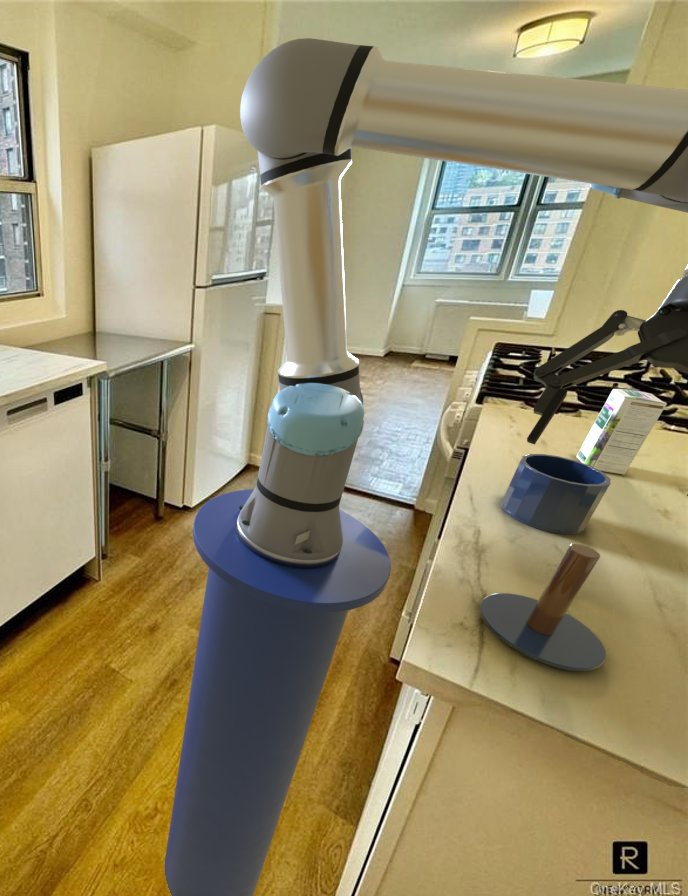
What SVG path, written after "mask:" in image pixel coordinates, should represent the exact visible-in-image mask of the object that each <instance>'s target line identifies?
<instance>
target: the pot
mask: <svg viewBox="0 0 688 896" xmlns="http://www.w3.org/2000/svg"><path fill="white" fill-rule="evenodd" d="M610 485H611V477H609V476H608V475H607V474H606V472H604V471H600V470H598V469H596V468H594V467H592V466H590V465H587V464H584V463H581V461H578V460H575V459H571V458H569V457H568V458H567V457H563V456H559V455H553V454H546V453H529V454H525V455H522V457H521V459H520V461H519V463H518V465H517V467H516V469H515V472H514V474H513V475H512V478H511V480H510V482H509V484H508V487H507V489H506V491H505V493H504V495H503V498H502V500H501V502H500V507H501V509H502V510H503V511H504V513H506V514H507V515H508V516H510V517H511V518H513V519H515V521H518V522H520V523H521V524H524V525H527V526H529V527H532V528H535V529H536V530H537V529H538V530H541V531H545V532H549V533H552V534H559V535H576V534H580V533H583V532H584V530H585V529H586V527H587V526H588V524H589V522H590V521H591V518H592V517H593V515H594V513H595V512H596V510H597V508H598V506H599V504H600V502H601V501H602V499H603V498H604V496H605V494H606V492H607V490H608V489H609V487H610Z"/></svg>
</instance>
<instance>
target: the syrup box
mask: <svg viewBox="0 0 688 896" xmlns="http://www.w3.org/2000/svg"><path fill="white" fill-rule="evenodd" d="M667 405H668V403H667V402H665V401H663V400H661V399H660V398H658V396H656V395H654V394H653V393H649V392H645V391H641V390H635V389H625V388H624V389H623V388H613V389H612V390H611V391H610V393H609V395H608V397H607V399H606V401H605V403H604V405H603V406H602V408H601V410H600V412H599V414H598V415H597V417H596V419H595V421H594V423H593V425H592V426H591V428H590V430H589V432H588V433H587V436H586V437H585V439H584V441H583V443H582V444H581V447H580V449H579V451H578V453H577V454H576V459H578V460H579V462H581V463H584V464H587V465H590V466H592V467H594V468H596V469H598V470H600V471H602V472H604V473H612V474H619V475H626V472H627V471H628V469H629V468H630V466H631V464H632V463H633V461H635V458H636V456H637V455H638V453H639V451H640V449H641V448H642V446H643V444H644V443H645V441H646V439H647V438H648V437H649V435H650V434H651V432H652V430H653V428H654V426H655V425H656V423H657V421H658V420H659V418H660V416H661V414H662V413H663V411H664V409H665V408H666V406H667Z"/></svg>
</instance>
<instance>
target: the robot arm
mask: <svg viewBox="0 0 688 896" xmlns="http://www.w3.org/2000/svg"><path fill="white" fill-rule="evenodd" d="M240 99H241V100H240V106H239V116H240V117H239V118H240V120H239V121H240V125H241V128H242V132H243V134H244V136H245V138H246V140H247V141H248V142H249V144H250V145H251V147H252V148H253V149H255V150H256V151H257V158H258V170H259V179H260V180H259V181H260V188H261V189H262V190H263V191H264V192H265V193H267V194H269V196H271V197H272V199H273V208H274V209H273V210H274V221H275V233H276V244H277V257H278V267H279V279H280V281H279V282H280V292H281V304H282V315H283V325H284V326H283V328H284V338H285V340H284V341H285V352H286V360H285V361H284V362H283V364H281V366H280V367H279V368H278V370H277V376H278V386H279V388H278V389H279V391H278V392H277V394H276V395H275V396H274V398H273V400H272V402H271V405H270V408H269V410H268V412H267V426H266V427H267V428H266V431H265V438H264V443H263V447H262V453H261V458H260V462H259V463H260V464H259V468H258V474H257V479H256V484H255V487H254V490H253V492H252V494H251V495H250V497H249V498H248V500H247V502H246V503H245V505H240V507H239V509H240V510H241V511H240V514H239V516H238V520H237V526H236V531H237V535H238V537H239V539H240V540H241V542H242V543H243V544H244V545H245V546H246V547H247V548H248V549H249V550H250V551H252V552H253V553H255V554H256V555H258V556H260V557H261V558H263V559H265V560H268V561H270V562H273V563H275V564H278V565H282V566H286V567H291V568H298V569H315V568H321V567H325V566H327V565H330V564H331V563H333V562H334V561H335V560H337V558H338V557H339V555H340V552H341V548H342V545H343V533H342V525H341V517H340V510H341V509H340V504H341V500H342V497H343V494H344V490H345V486H346V484H347V479H348V476H349V473H350V469H351V465H352V461H353V459H354V455H355V451H356V448H357V444H358V441H359V438H360V437H361V436H362V433H363V429H364V425H365V421H364V418H365V408H364V395H363V393H362V388H361V382H360V381H361V380H360V379H361V378H360V361H359V359H358V358H357V357H355V356H354V355H353V354H351V353H350V352H349V351H348V340H347V339H348V338H347V336H348V335H347V315H346V291H345V269H344V268H345V266H344V247H343V246H344V245H343V243H344V242H343V223H342V222H343V220H342V199H341V197H342V196H341V180H342V177H343V176H344V174H345V173H346V172H347V170H348V169H349V167H350V166H351V165H352V164H353V159H352V158H353V157H352V156H353V155H352V148H356V149H362V150H367V151H369V150H370V151H374V152H382V153H389V154H395V155H402V156H409V157H415V158H420V159H421V158H422V159H428V160H434V161H441V162H448V163H454V164H461V165H467V166H474V167H480V168H487V169H493V170H501V171H505V172H506V171H507V172H513V173H519V174H525V175H526V174H527V175H533V176H540V177H545V178H553V179H559V180H564V181H565V180H566V181H573V182H577V183H578V182H579V183H585V184H589V187H590V188H591V189H592V190H595V191H598V192H601V193H605V194H607V195H611V196H613V197H614V198H615V199H621V198H622V199H626V200H630V201H633V202H639V203H643V204H647V205H652V206H656V207H660V208H663V209H664V208H665V209H668V210H669V209H670V210H674V211H678V212H683V213H687V214H688V89H682V88H671V87H661V86H653V85H652V86H651V85H640V84H630V83H621V82H612V81H611V82H610V81H609V82H608V81H599V80H590V79H579V78H569V77H557V76H547V75H537V74H527V73H518V72H517V73H516V72H507V71H506V72H505V71H496V70H486V69H485V70H484V69H476V68H475V69H474V68H464V67H456V66H455V67H454V66H443V65H435V64H434V65H433V64H423V63H413V62H403V61H391V60H386V59H384V57H383V55H382V53H381V50H380V48H379V46H375V45H364V44H363V45H362V44H354V43H349V42H348V43H347V42H340V41H333V40H328V39H327V40H326V39H319V38H312V37H311V38H310V37H305V38H296V39H292V40H288V41H286V42H283V43H281V44H280V45H278V46H277V47H275V48H273V49H271V51H269V52H268V53H267V54H266V55H265V56H263V57H262V58H261V60H259V62H258V63H257V65H256V66H254V68H253V70H252V71H251V73H250V74H249V77H248V79H247V80H246V83H245V85H244V88H243V91H242V94H241V98H240ZM681 275H682V277H681V278H679V279H678V280H677V281H676V282H675V283H674V285H673V287H672V288H671V290H670V291H669V292H668V294H667V296H666V297H665V298H664V300H663V301H662V303H661V305H660V306H659V308H658V309H657V310H656V311H655V313H654V314H653V315H652V316H650V317H649V318H648V319H642V318H639V317H635V316H631V315H628V312H627V311H626V310H624V309H617V310H615V311H614V312H612V314H611V315H610V316H608V318H607V320H606V321H605V322H604V323H603V325H601V326H600V327H599V328H597V329H596V330H594V331H592V332H591V333H589V334H588V335H587V336H585V337H583V338H582V339H579V341H577V342H575V343H574V344H572V345H571V346H569V347H567V348H565V350H563V351H561V352H559V353H558V354H556V355H555V356H553V357H551V359H549V360H547V361H545V362H544V363H543V364H541V365H539V366H538V367H537V368H535V369H534V372H533V379H534V380H535V381H536V382H539V383H541V384H542V385H543V386H544V387H545V388H544V390H543V391H542V393H541V395H540V396H539V398H538V399H537V401H536V402H535V404H534V406H533V414H535V415H539V416H540V417H539V419H538V421H537V422H536V424H535V425H534V427H533V428H532V430H531V431H530V433H529V434H528V436H527V437H526V442H527V443H529V444H532V445H536V443H537V442H538V440H539V439H540V437H541V435H542V434H543V433H544V432H545V429H546V428H547V426H548V425H549V424H550V422H551V420H553V418H554V416H555V415H556V413H557V411H558V410H559V409H560V407H561V405H562V403H563V402H564V400H565V399H566V397H567V395H568V390H567V389H569V388H571V387H574V386H576V385H579V384H582V383H584V382H588V381H589V380H592V379H595V378H597V377H601V376H603V375H605V374H608V373H611V372H614V371H616V370H618V369H622V368H624V367H627V366H632V365H635V364H637V363H640V362H642V361H646V360H647V362H649V363H650V364H652V366H653V367H657V368H662V369H674V370H677V371H679V372H681V373H684V374H688V265H687V266H686V267H685V269H684V270H683V272H682V274H681ZM633 331H636V332H637V336H638V339H639V342H638V343H635V344H632V345H630V346H628V347H626V348H624V349H623V350H620V351H618V352H615V353H612V354H610V355H607V356H605V357H602V358H600V359H597V360H594V361H592V362H589V363H587V364H584V365H582V366H578V367H577V368H574V369H571V370H568V371H566V372H564V373H561V374H559V375H556V374H558V373H559V372H561V371H563V370H564V369H566V368H567V367H570V366H571V365H572V364H574V363H576V362H577V361H578V360H580V359H582V358H583V357H585V356H587V355H588V354H590V353H591V352H593V351H594V350H596V349H598V348H599V347H601V346H602V345H604V344H606V343H607V342H608V341H610V340H611V339H613V337H614V336H616V337H621V336H624V335H626V334H627V333H629V332H633ZM686 496H687V497H688V493H687V494H686Z"/></svg>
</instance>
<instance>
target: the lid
mask: <svg viewBox="0 0 688 896" xmlns="http://www.w3.org/2000/svg"><path fill="white" fill-rule="evenodd" d="M600 559H601V554H600V553H599V552H598V551H597V550H596V549H594V548H592V547H589V546H587V545H585V544H579V543H571V544H569V545H568V547H567V549H566V551H565V552H564V553H563V556H562V558H561V559H560V561H559V563H558V565H557V567H556V569H555V570H554V572H553V574H552V576H551V577H550V579H549V581H548V582H547V584H546V586H545V588H544V589H543V592H542V593H541V595H540V596H539V599H536V598H532V597H529V596H525V595H521V594H515V593H509V592H507V593H506V592H501V593H492V594H490V595H487V596H485V597H484V598H483V599H482V600H481V602H480V604H479V608H478V611H479V615H480V618H481V619H482V622H483V623H484V624H485V625H486V627H487V628H488V629H489V630H490V632H492V633H493V634H494V635H495V636H496V637H497V638H499V639H500V640H501V641H502V642H504V643H505V644H506V645H508V646H509V647H511V648H513V649H514V650H516V651H517V652H519V653H520V654H522V655H525V656H527V657H528V658H531V659H533V660H535V661H538V662H539V663H543V664H545V665H547V666H550V667H555V668H558V669H561V670H566V671H573V672H590V671H594V670H597V669H599V668H600V667H601V666H603V664H604V662H605V661H606V658H607V652H606V648H605V646H604V644H603V643H602V641H601V640H600V639H599V637H598V636H597V635H596V634H595V633H594V632H593V631H592V630H591V629H589V627H587V626H586V625H585V624H584V623H583V622H581V621H579V619H577V618H575V617H574V616H572V615H571V614H569V613H568V611H569V610H570V607H572V604H573V602H574V601H575V599H576V598H577V596H578V595H579V593H580V591H581V590H582V588H583V586H584V585H585V583H586V582H587V580H588V578H589V576H590V575H591V573H592V571H593V569H594V568H595V566H596V565H597V563H598V561H599V560H600Z"/></svg>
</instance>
